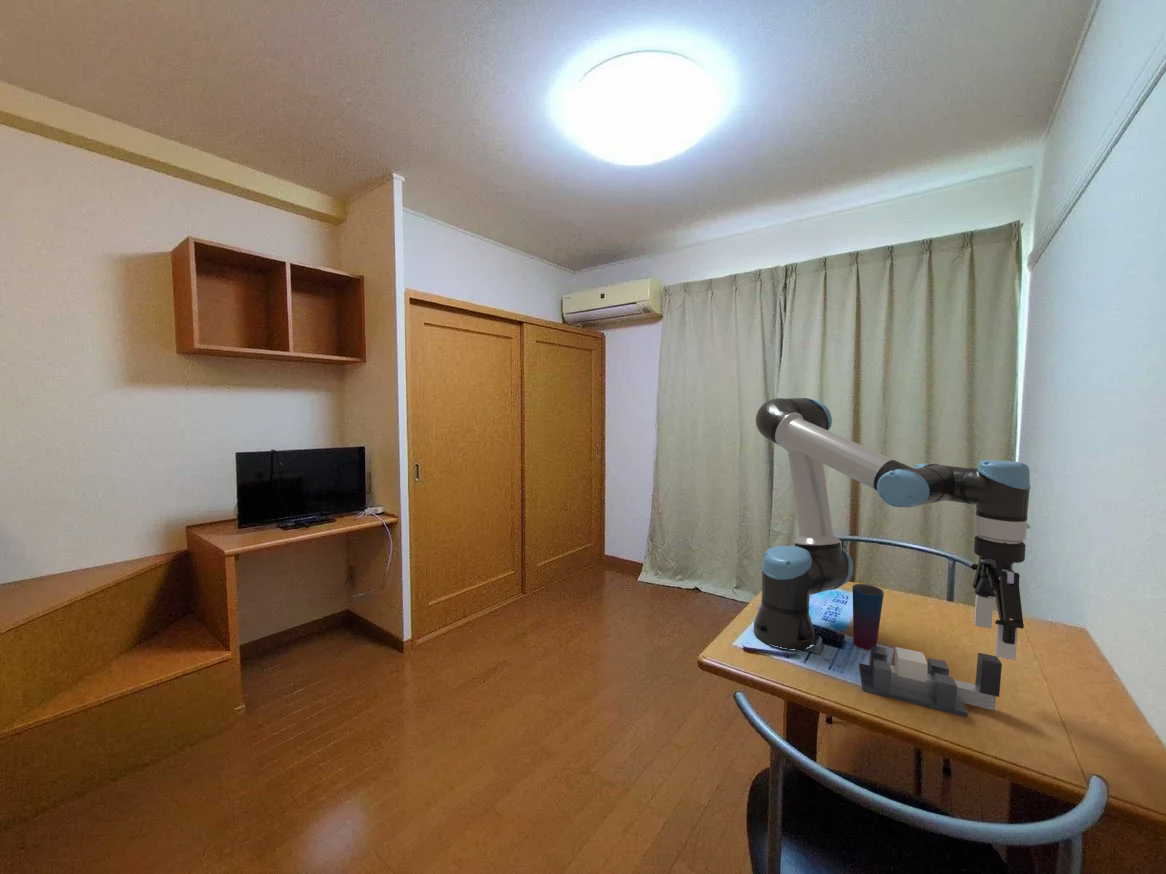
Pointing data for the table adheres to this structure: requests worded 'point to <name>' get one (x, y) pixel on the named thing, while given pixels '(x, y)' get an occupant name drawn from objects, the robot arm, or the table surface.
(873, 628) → the cup
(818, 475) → the robot arm
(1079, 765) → the table surface
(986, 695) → the sliding bolt
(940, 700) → the rail
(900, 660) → the block
